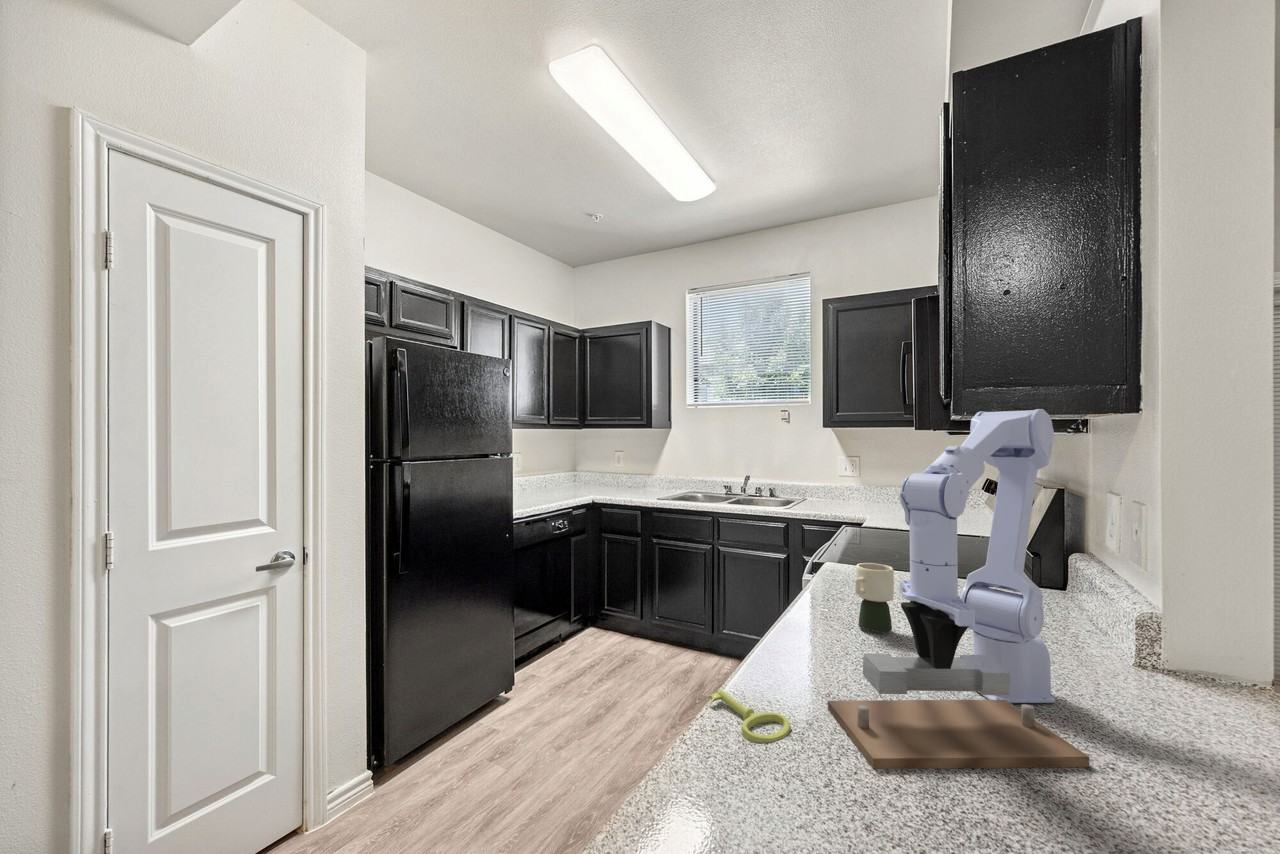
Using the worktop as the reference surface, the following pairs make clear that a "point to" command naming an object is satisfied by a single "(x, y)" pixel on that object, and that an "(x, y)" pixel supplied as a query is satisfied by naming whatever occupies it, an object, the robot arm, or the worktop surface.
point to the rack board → (952, 734)
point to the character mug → (875, 595)
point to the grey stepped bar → (935, 675)
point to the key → (754, 719)
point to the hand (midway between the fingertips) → (934, 662)
